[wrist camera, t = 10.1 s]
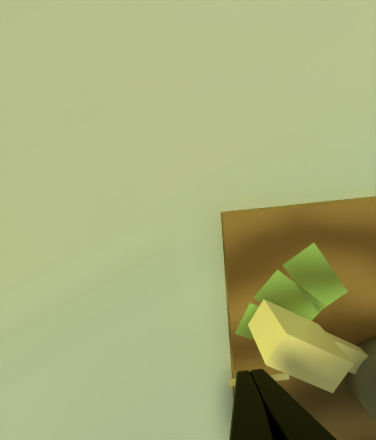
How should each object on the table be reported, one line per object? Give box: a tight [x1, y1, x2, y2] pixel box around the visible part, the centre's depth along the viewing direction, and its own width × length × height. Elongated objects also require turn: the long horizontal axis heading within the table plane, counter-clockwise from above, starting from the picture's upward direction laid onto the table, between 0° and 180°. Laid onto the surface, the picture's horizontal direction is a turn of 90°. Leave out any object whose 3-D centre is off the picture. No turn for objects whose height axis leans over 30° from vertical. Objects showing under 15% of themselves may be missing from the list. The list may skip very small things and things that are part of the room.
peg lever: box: [248, 299, 376, 420], centre depth 18 cm, size 15×6×4 cm, turn 63°
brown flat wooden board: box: [221, 197, 376, 440], centre depth 21 cm, size 22×20×1 cm
